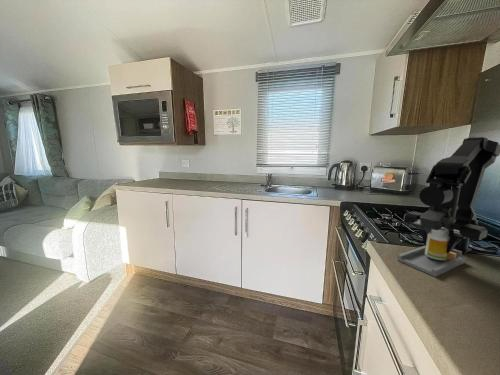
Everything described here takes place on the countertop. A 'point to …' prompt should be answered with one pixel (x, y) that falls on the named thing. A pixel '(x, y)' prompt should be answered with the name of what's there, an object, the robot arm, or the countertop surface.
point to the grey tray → (430, 261)
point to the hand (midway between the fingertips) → (436, 249)
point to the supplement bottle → (437, 244)
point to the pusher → (451, 256)
